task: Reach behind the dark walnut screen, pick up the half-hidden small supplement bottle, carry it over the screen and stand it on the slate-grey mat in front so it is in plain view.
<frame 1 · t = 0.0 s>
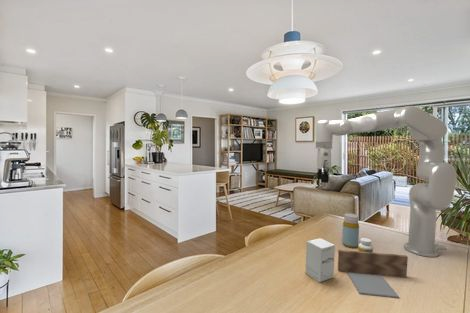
hand: (322, 180, 115), 31 cm above the table, tool pointing down, fingers open, 9 cm apart
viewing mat: (371, 285, 83), on the table
screen: (371, 273, 90), on the table
supplement box: (319, 275, 88), on the table
bottle: (349, 245, 115), on the table
supplement bottle: (364, 262, 99), on the table
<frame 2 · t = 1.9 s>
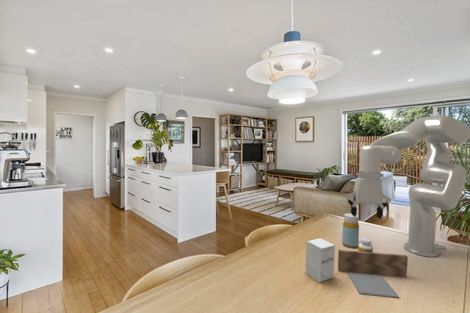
hand: (366, 216, 97), 19 cm above the table, tool pointing down, fingers open, 9 cm apart
nothing on the table moved.
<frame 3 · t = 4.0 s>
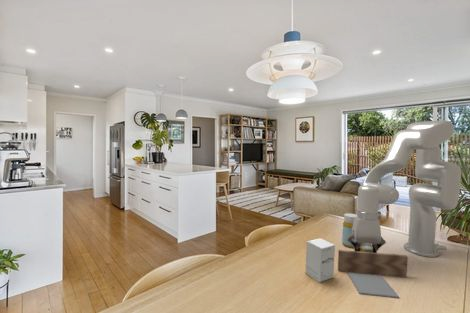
hand: (365, 257, 99), 2 cm above the table, tool pointing down, fingers closed on supplement bottle, 5 cm apart
supplement bottle: (364, 262, 99), on the table, touching gripper
everything else where it was.
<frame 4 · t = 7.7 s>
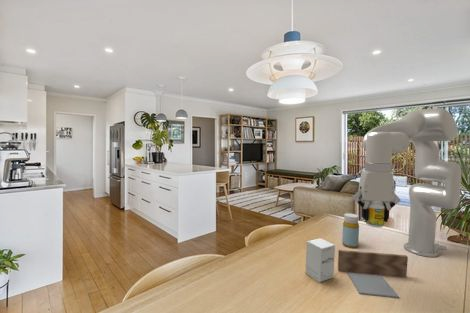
hand: (374, 219, 81), 23 cm above the table, tool pointing down, fingers closed on supplement bottle, 5 cm apart
supplement bottle: (374, 225, 82), point 21 cm above the table, touching gripper
everything else where it was.
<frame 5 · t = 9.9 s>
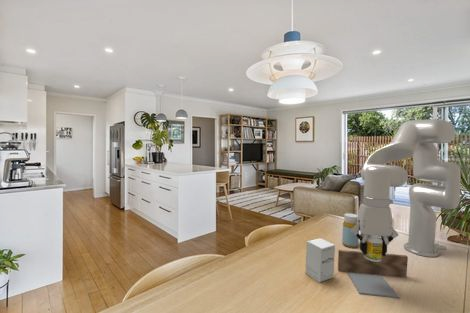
hand: (372, 252, 82), 12 cm above the table, tool pointing down, fingers closed on supplement bottle, 5 cm apart
supplement bottle: (372, 258, 82), point 9 cm above the table, touching gripper
everything else where it was.
when the fingers open (4 cm above the table, at t = 11.8 s): supplement bottle drops 2 cm, resting on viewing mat.
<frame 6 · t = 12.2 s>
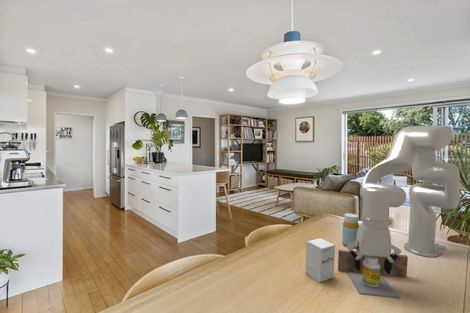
hand: (372, 270, 82), 5 cm above the table, tool pointing down, fingers open, 9 cm apart
supplement bottle: (370, 283, 83), resting on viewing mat
everything else where it was.
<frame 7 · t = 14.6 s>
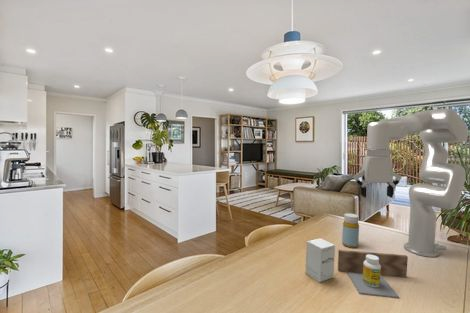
hand: (376, 196, 93), 29 cm above the table, tool pointing down, fingers open, 9 cm apart
nothing on the table moved.
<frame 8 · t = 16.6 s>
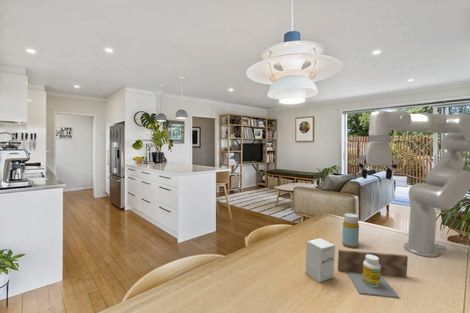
hand: (376, 178, 104), 34 cm above the table, tool pointing down, fingers open, 9 cm apart
nothing on the table moved.
at the end: supplement bottle inside the target area on the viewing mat (0.2 cm from its centre), point 0.3 cm above the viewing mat's base; supplement bottle tilted 0°; the gripper is holding nothing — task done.
